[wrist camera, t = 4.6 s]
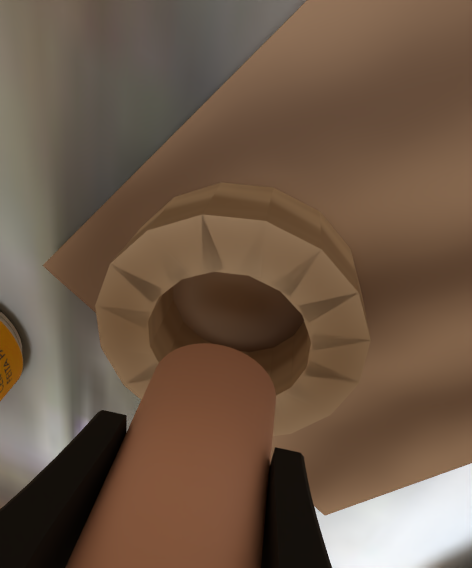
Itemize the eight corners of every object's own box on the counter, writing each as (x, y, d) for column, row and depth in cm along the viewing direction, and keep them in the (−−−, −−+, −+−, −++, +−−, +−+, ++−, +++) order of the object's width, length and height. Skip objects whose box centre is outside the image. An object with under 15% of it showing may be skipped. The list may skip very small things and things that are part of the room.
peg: (302, 405, 12) (294, 764, 6) (211, 451, 14) (137, 773, 8) (215, 321, 11) (108, 653, 5) (128, 381, 13) (-32, 690, 7)
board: (684, 357, 17) (708, 378, 16) (324, 495, 24) (325, 515, 23) (419, -110, 11) (430, -124, 10) (57, 252, 19) (42, 265, 18)
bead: (406, 317, 16) (424, 370, 14) (232, 411, 20) (221, 467, 18) (250, 127, 14) (237, 150, 11) (85, 278, 18) (46, 320, 15)
